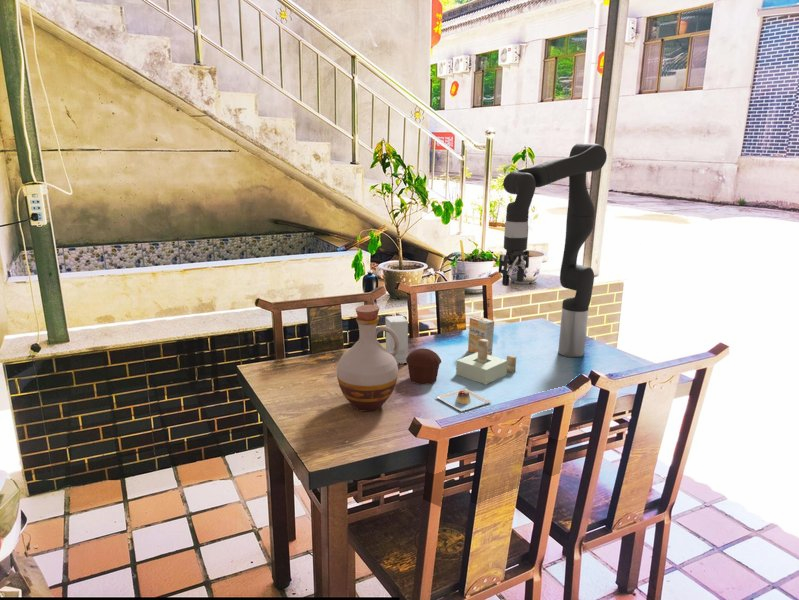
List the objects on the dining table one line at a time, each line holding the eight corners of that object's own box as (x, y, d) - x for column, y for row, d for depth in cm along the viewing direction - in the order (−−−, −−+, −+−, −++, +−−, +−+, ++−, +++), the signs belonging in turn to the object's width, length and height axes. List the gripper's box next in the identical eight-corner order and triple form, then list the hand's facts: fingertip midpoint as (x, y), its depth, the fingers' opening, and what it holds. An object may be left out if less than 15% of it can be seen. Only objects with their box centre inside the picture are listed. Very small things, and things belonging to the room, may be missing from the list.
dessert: (435, 400, 182) (435, 385, 181) (465, 391, 189) (465, 377, 188) (461, 415, 173) (461, 399, 172) (491, 405, 180) (492, 390, 178)
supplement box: (467, 351, 224) (468, 317, 220) (476, 348, 227) (477, 315, 223) (483, 357, 217) (485, 322, 214) (492, 354, 221) (494, 320, 217)
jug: (382, 387, 190) (383, 295, 182) (414, 408, 175) (416, 309, 167) (326, 401, 179) (324, 304, 172) (355, 424, 165) (354, 320, 157)
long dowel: (480, 372, 204) (482, 338, 200) (488, 374, 201) (490, 340, 198) (474, 374, 201) (476, 340, 198) (482, 377, 199) (484, 342, 196)
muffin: (398, 379, 196) (398, 350, 193) (418, 370, 205) (418, 342, 202) (428, 389, 189) (429, 359, 187) (447, 378, 198) (448, 349, 195)
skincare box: (408, 364, 210) (409, 321, 206) (389, 365, 208) (390, 322, 204) (402, 355, 218) (403, 314, 214) (384, 357, 216) (385, 315, 212)
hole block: (477, 365, 210) (478, 351, 208) (506, 374, 202) (507, 360, 200) (456, 374, 201) (456, 360, 200) (485, 384, 193) (486, 369, 192)
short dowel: (509, 368, 207) (510, 354, 206) (517, 370, 205) (518, 357, 204) (504, 370, 205) (504, 356, 204) (512, 373, 203) (512, 359, 202)
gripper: (518, 231, 203) (515, 278, 207) (493, 235, 193) (491, 285, 197) (537, 234, 198) (534, 282, 202) (513, 238, 188) (510, 289, 192)
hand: (512, 283), depth 199 cm, fingers open, 8 cm apart
